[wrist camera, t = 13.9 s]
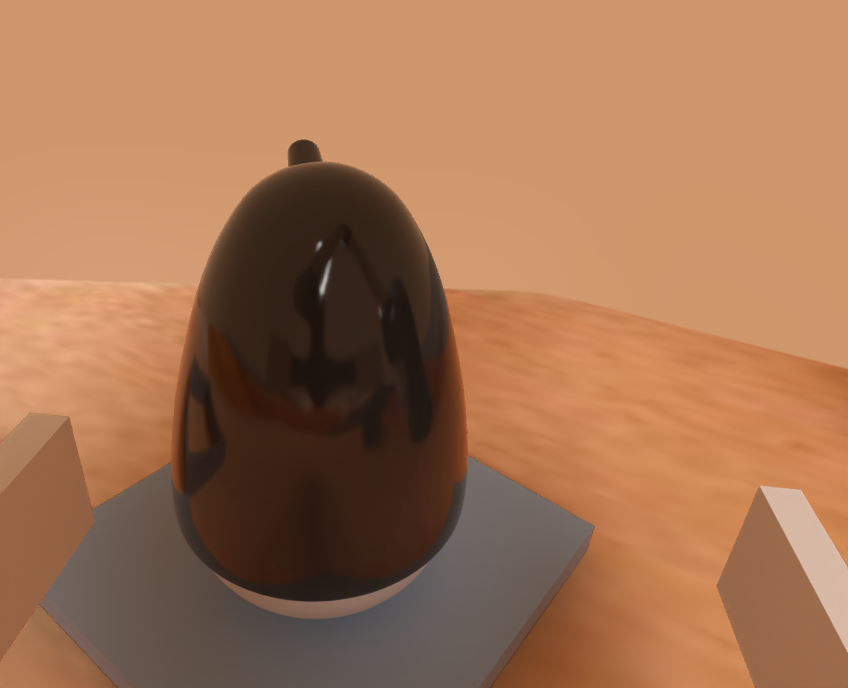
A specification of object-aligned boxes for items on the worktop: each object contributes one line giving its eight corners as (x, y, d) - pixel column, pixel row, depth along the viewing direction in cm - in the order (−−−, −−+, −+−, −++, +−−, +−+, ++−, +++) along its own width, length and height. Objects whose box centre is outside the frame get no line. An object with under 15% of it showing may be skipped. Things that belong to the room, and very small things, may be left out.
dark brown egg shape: (416, 441, 32) (450, 114, 23) (489, 638, 24) (581, 241, 15) (189, 467, 29) (136, 109, 21) (182, 700, 21) (89, 260, 13)
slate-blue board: (319, 394, 37) (319, 372, 36) (586, 549, 29) (594, 526, 28) (21, 584, 25) (11, 558, 25) (330, 914, 18) (330, 892, 17)
